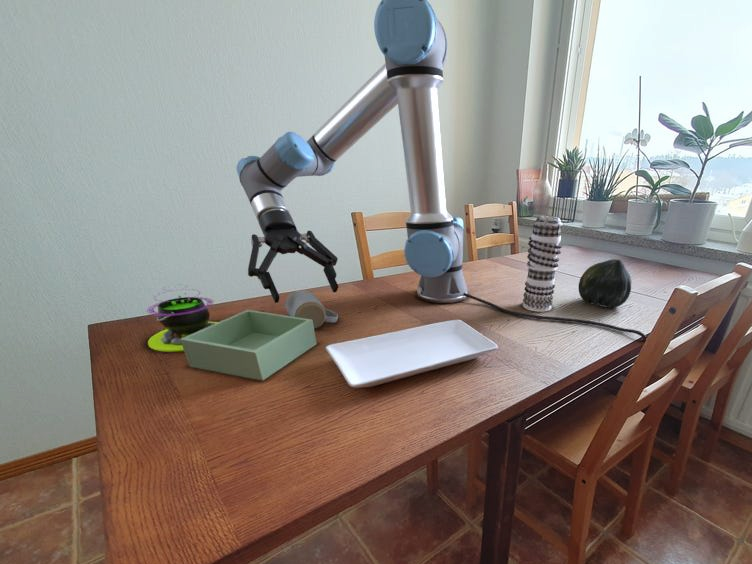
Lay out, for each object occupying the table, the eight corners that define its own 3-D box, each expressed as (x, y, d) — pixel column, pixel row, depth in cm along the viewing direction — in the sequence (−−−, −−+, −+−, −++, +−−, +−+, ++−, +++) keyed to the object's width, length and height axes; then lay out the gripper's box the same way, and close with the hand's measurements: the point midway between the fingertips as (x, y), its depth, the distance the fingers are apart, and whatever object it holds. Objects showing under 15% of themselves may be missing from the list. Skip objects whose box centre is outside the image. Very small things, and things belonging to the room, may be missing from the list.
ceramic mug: (297, 334, 85) (291, 302, 82) (288, 322, 91) (282, 291, 87) (343, 325, 91) (340, 295, 88) (332, 314, 97) (328, 286, 93)
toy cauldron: (167, 324, 86) (150, 277, 81) (240, 321, 90) (227, 276, 85) (132, 354, 74) (109, 301, 68) (218, 349, 77) (202, 298, 72)
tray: (500, 360, 80) (501, 345, 78) (352, 402, 63) (350, 385, 62) (459, 331, 92) (459, 318, 90) (326, 360, 76) (323, 345, 74)
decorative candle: (514, 305, 110) (523, 215, 98) (535, 299, 116) (546, 213, 104) (538, 314, 104) (551, 220, 93) (558, 307, 110) (573, 218, 98)
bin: (316, 344, 82) (312, 319, 79) (262, 380, 68) (255, 352, 65) (253, 333, 85) (247, 309, 82) (189, 366, 71) (179, 339, 68)
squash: (574, 276, 121) (588, 247, 107) (619, 280, 122) (640, 252, 107) (574, 315, 117) (589, 290, 102) (621, 319, 117) (643, 296, 103)
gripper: (322, 224, 101) (353, 293, 99) (215, 231, 86) (248, 312, 84) (328, 206, 95) (361, 278, 93) (213, 210, 80) (249, 296, 78)
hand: (308, 294), depth 88 cm, fingers open, 13 cm apart
